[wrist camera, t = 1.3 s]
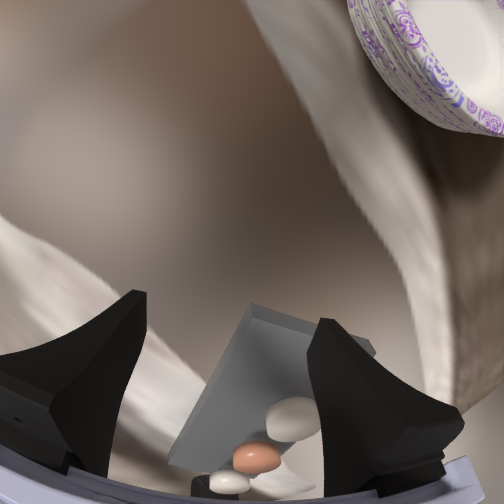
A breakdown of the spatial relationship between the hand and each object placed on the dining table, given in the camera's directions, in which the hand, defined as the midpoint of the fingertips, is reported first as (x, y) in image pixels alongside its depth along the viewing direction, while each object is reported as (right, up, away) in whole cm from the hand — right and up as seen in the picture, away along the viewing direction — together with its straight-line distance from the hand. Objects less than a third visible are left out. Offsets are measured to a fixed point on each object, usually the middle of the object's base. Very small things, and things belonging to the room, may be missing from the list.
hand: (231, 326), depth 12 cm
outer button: (+4, -10, +11) cm, 15 cm away
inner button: (-2, -22, +15) cm, 26 cm away
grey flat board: (+1, -14, +16) cm, 22 cm away
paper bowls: (+14, +20, +4) cm, 24 cm away
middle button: (+1, -16, +13) cm, 20 cm away
